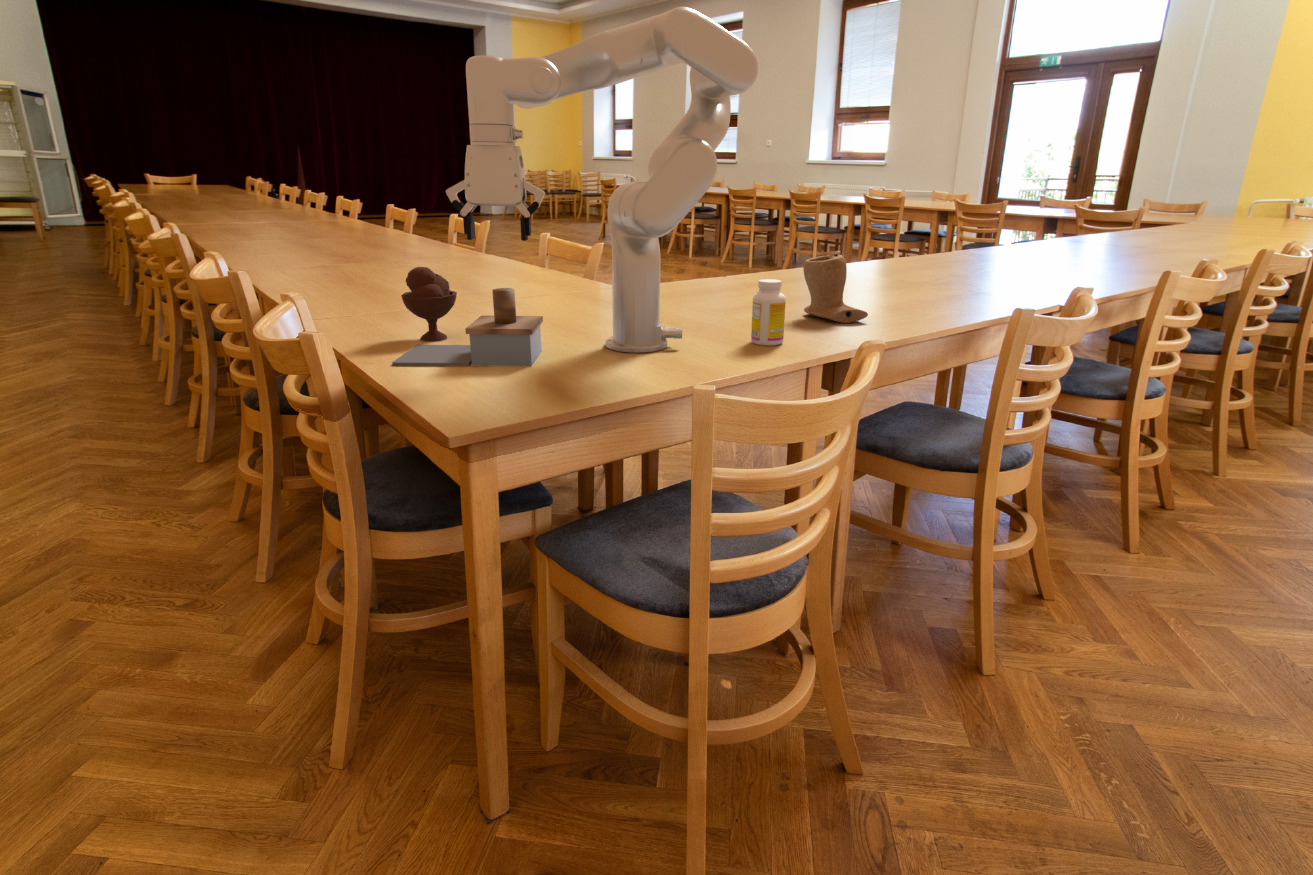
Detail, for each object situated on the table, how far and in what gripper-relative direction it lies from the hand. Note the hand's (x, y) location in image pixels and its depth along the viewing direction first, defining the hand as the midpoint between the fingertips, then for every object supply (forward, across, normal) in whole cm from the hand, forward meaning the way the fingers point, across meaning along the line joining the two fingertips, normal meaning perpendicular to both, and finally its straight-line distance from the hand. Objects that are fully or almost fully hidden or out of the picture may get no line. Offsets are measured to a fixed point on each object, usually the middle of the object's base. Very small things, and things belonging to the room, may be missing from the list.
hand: (498, 239), depth 133 cm
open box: (+22, -1, 0) cm, 22 cm away
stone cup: (+21, -70, -41) cm, 84 cm away
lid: (+16, 0, 0) cm, 16 cm away
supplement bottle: (+22, -52, -15) cm, 58 cm away
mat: (+22, +12, -1) cm, 25 cm away
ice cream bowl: (+22, +18, -16) cm, 33 cm away
